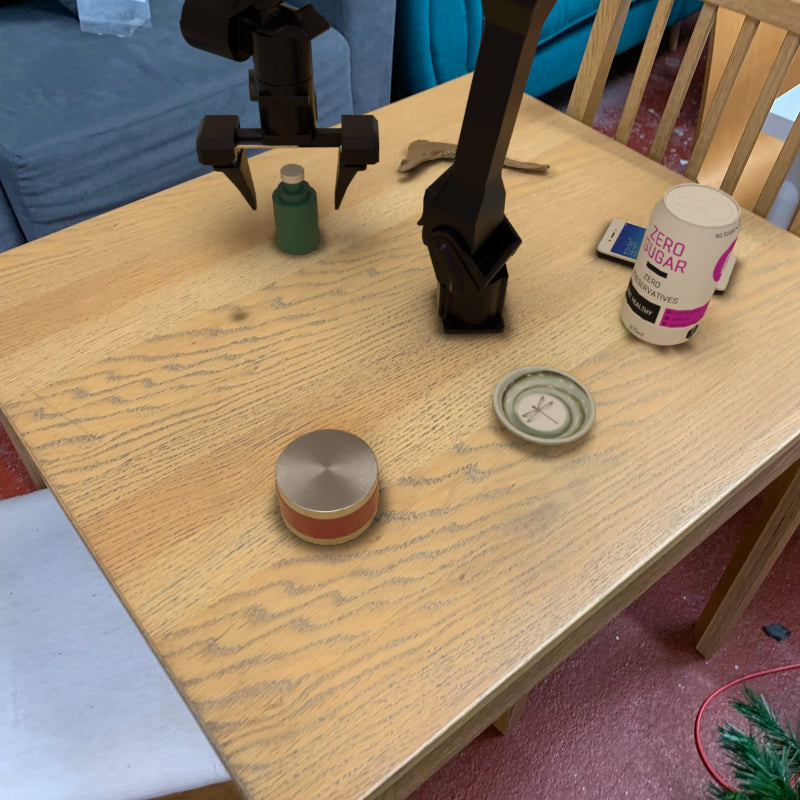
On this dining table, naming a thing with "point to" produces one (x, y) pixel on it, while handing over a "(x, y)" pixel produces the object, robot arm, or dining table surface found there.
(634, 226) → the smartphone
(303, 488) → the tin
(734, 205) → the supplement can
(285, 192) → the bottle
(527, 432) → the saucer
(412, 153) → the jawbone
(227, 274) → the dining table surface
